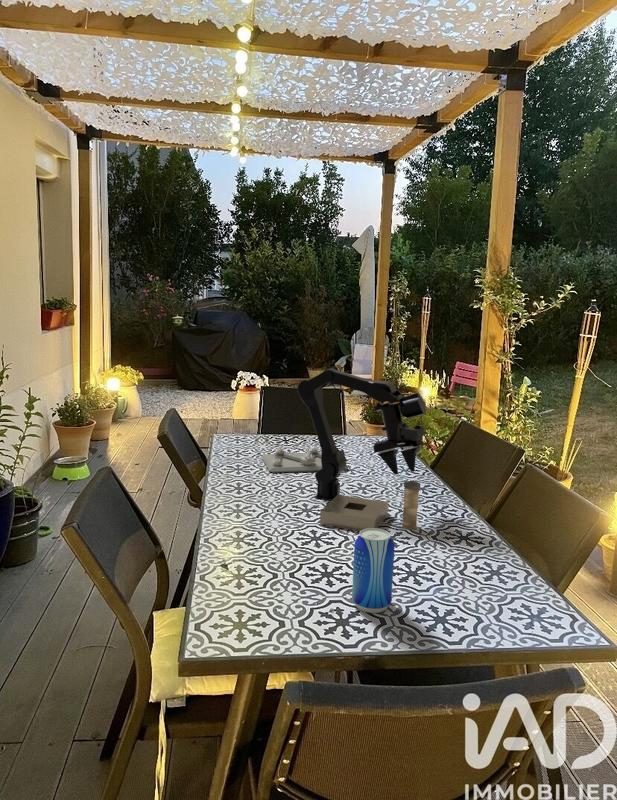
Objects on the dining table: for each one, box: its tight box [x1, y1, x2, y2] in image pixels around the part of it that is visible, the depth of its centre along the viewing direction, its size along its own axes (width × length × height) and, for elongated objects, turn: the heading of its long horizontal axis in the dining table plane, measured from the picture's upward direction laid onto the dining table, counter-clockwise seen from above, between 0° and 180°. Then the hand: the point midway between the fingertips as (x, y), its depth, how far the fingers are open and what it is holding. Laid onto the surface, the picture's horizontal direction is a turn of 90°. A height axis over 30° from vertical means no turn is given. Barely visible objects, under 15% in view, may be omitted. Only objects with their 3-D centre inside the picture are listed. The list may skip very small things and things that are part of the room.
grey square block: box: [319, 494, 389, 532], centre depth 185 cm, size 16×16×4 cm
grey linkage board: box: [261, 445, 349, 474], centre depth 242 cm, size 30×22×7 cm
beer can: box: [351, 528, 395, 614], centre depth 133 cm, size 8×8×16 cm
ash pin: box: [401, 480, 421, 531], centre depth 179 cm, size 5×5×13 cm
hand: (404, 472), depth 188 cm, fingers open, 9 cm apart
